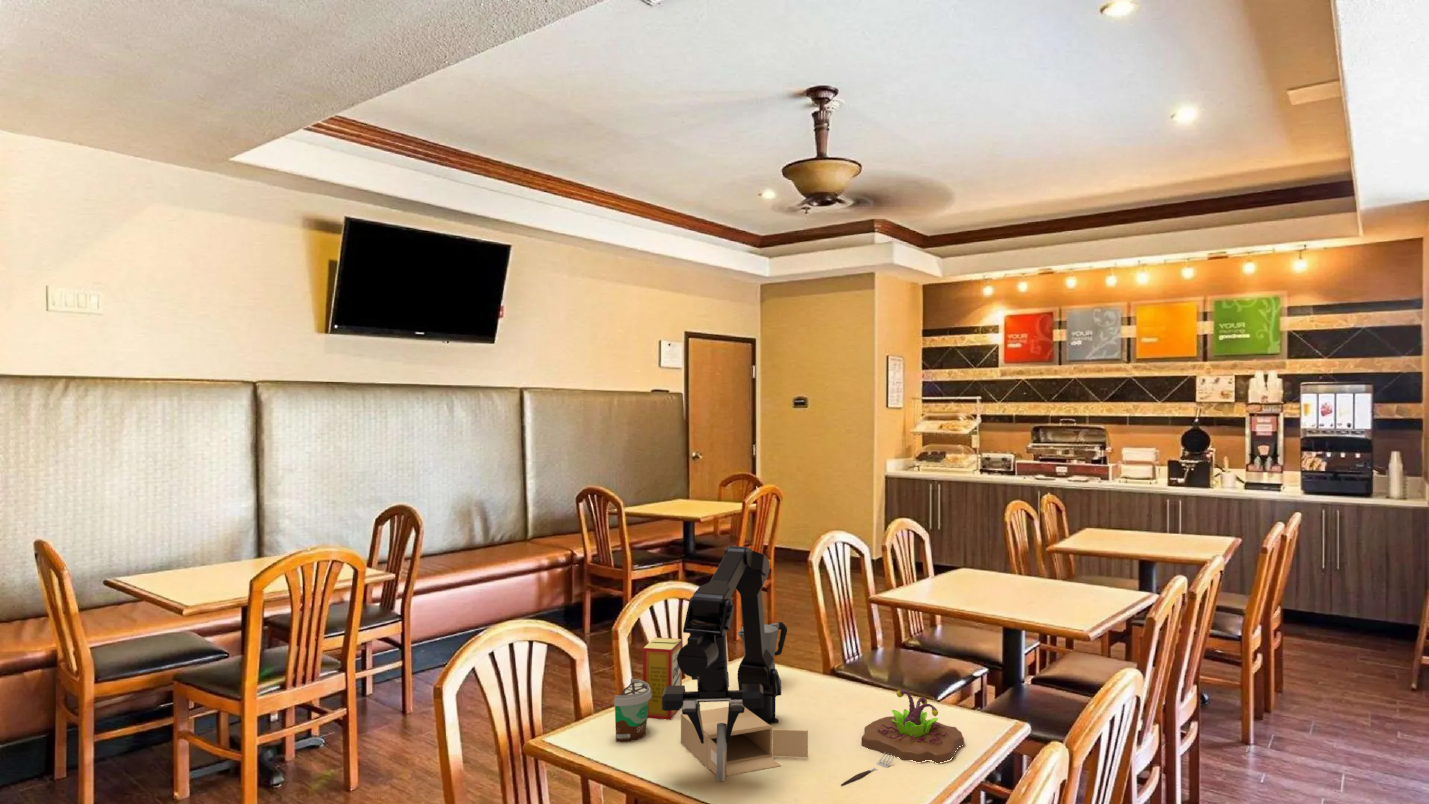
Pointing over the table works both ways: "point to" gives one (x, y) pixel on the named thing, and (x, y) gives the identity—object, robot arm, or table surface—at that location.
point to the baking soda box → (661, 673)
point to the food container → (632, 711)
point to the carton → (744, 741)
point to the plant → (913, 734)
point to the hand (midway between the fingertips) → (715, 742)
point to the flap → (718, 753)
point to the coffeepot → (771, 637)
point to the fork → (869, 770)
